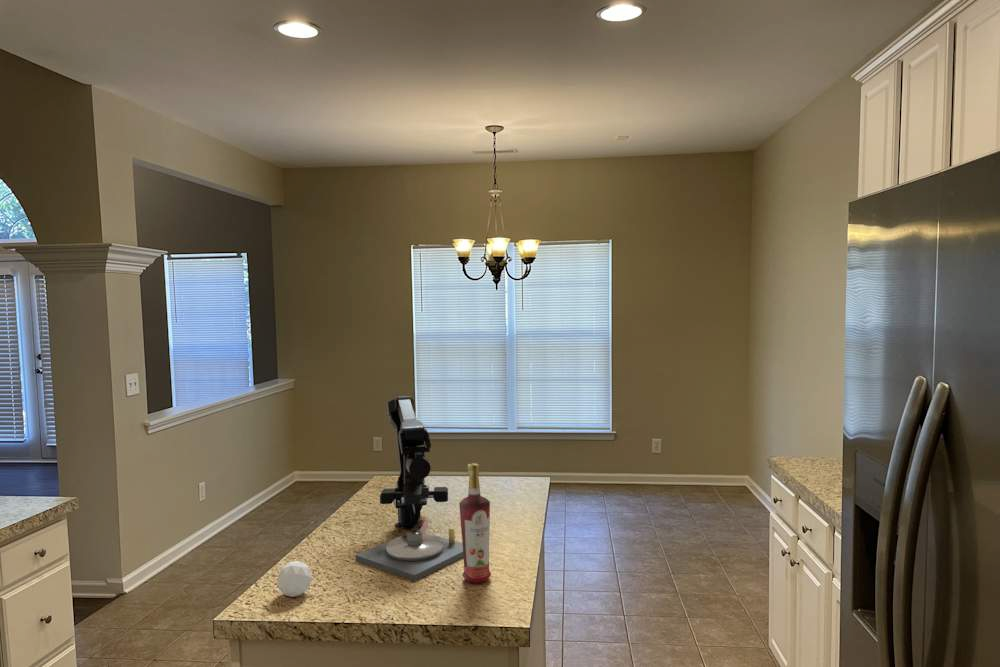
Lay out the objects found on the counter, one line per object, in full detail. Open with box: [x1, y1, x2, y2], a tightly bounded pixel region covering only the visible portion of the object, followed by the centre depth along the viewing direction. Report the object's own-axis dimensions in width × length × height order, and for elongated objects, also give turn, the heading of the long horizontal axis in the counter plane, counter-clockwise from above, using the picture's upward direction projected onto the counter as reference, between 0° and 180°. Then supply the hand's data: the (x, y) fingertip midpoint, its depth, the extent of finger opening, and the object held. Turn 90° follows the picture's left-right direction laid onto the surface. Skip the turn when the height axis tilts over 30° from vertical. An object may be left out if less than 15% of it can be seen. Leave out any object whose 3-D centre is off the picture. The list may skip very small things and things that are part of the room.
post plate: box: [355, 526, 464, 582], centre depth 171 cm, size 22×22×6 cm
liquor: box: [459, 462, 492, 585], centre depth 154 cm, size 7×7×28 cm
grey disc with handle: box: [386, 515, 444, 561], centre depth 173 cm, size 20×15×5 cm
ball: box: [276, 560, 313, 598], centre depth 150 cm, size 8×8×8 cm
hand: (415, 525), depth 181 cm, fingers closed
